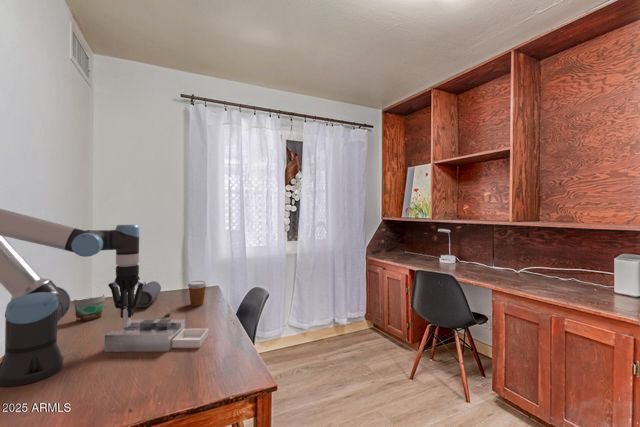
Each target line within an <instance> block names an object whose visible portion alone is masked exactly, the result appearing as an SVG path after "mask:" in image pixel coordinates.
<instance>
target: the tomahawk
mask: <svg viewBox="0 0 640 427" xmlns="http://www.w3.org/2000/svg"><path fill="white" fill-rule="evenodd" d="M169 316H171V313H170V312H169V313H166V314H165V315H164V316H162V317H159V318H158V319H168V317H169Z"/></svg>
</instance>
